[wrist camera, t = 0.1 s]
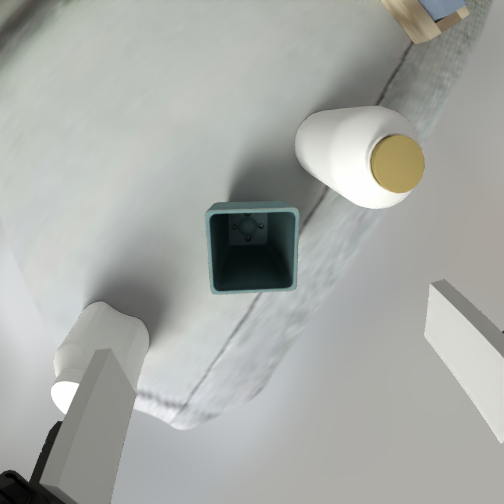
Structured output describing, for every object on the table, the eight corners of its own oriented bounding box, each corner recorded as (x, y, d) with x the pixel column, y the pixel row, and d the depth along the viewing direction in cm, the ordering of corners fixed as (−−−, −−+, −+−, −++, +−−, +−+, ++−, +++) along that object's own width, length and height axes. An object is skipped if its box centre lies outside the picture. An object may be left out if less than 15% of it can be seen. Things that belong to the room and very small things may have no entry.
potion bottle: (303, 186, 38) (358, 237, 21) (284, 120, 35) (330, 116, 18) (365, 169, 38) (452, 206, 21) (349, 104, 34) (435, 96, 18)
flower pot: (284, 188, 38) (300, 207, 30) (283, 257, 41) (296, 291, 33) (210, 190, 38) (204, 210, 29) (214, 259, 41) (210, 295, 33)
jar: (74, 338, 44) (37, 404, 31) (86, 292, 41) (41, 359, 28) (138, 368, 47) (118, 442, 33) (158, 326, 44) (136, 404, 30)
